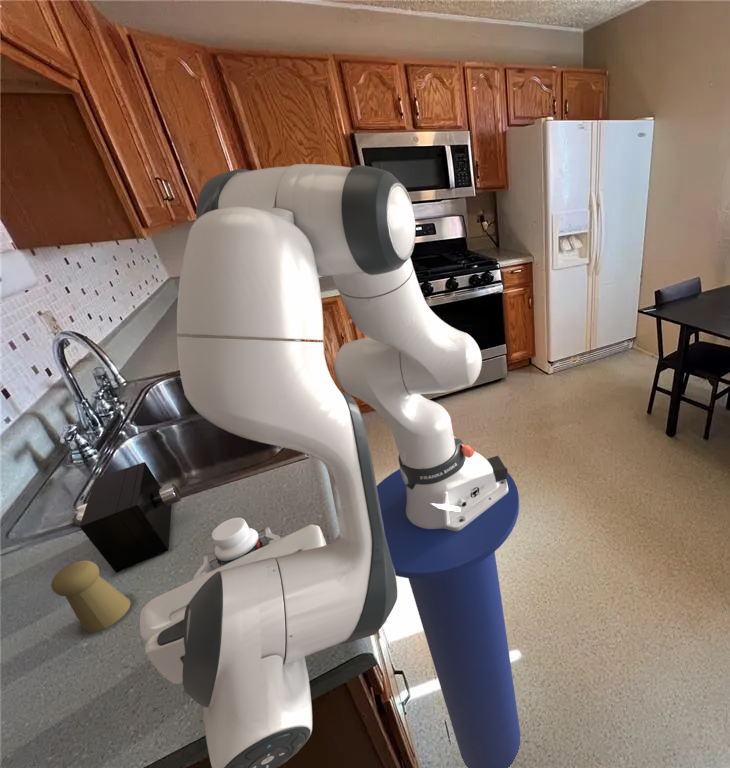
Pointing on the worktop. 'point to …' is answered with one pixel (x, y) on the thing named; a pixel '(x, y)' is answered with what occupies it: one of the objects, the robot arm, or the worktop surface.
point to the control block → (127, 517)
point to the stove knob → (79, 515)
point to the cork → (90, 596)
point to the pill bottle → (234, 540)
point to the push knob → (167, 495)
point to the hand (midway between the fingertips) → (238, 544)
